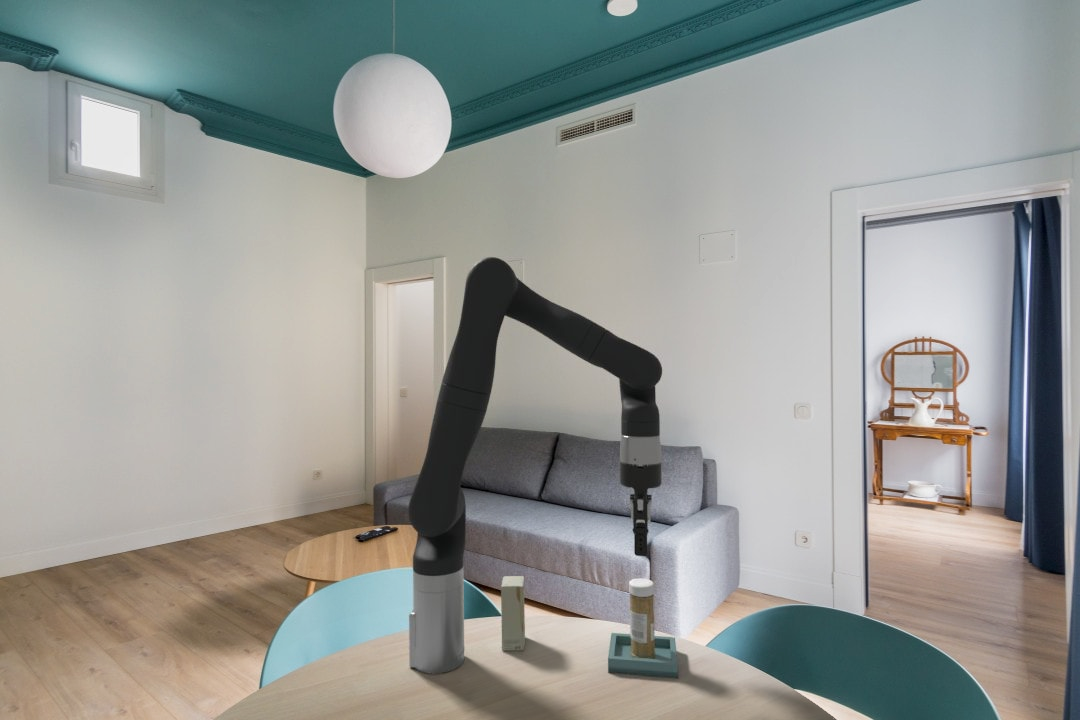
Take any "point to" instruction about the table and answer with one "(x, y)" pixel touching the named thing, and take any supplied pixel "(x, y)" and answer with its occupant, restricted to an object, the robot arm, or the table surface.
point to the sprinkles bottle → (642, 618)
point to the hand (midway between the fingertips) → (641, 548)
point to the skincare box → (513, 613)
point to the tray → (657, 667)
